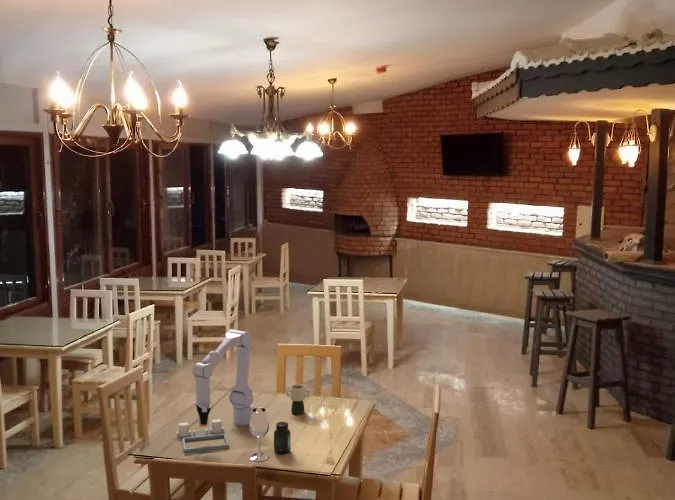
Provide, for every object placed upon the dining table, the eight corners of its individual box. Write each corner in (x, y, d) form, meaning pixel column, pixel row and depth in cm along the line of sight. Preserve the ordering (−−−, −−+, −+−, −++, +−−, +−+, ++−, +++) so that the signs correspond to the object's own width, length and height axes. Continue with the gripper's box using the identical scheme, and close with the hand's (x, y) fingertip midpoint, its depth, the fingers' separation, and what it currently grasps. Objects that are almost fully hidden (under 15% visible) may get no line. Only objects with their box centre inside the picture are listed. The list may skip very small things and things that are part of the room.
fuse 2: (220, 429, 296) (220, 419, 295) (221, 432, 293) (221, 421, 292) (211, 430, 295) (211, 419, 294) (212, 433, 292) (212, 422, 291)
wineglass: (260, 463, 266) (260, 414, 263) (245, 458, 270) (245, 410, 267) (273, 456, 272) (272, 408, 270) (257, 451, 276) (257, 405, 274)
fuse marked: (207, 423, 284) (207, 412, 284) (208, 426, 281) (208, 414, 281) (198, 424, 283) (198, 413, 283) (198, 427, 280) (198, 415, 280)
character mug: (309, 410, 323) (310, 384, 322) (308, 415, 316) (308, 389, 315) (287, 409, 324) (287, 383, 322) (285, 415, 317) (285, 388, 315)
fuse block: (223, 431, 298) (223, 424, 297) (225, 436, 292) (225, 430, 292) (175, 436, 292) (175, 429, 291) (175, 441, 286) (175, 435, 286)
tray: (225, 439, 289) (225, 433, 289) (228, 450, 277) (228, 444, 277) (182, 443, 284) (182, 438, 284) (184, 455, 272) (184, 449, 272)
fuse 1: (188, 433, 292) (188, 422, 291) (188, 436, 289) (188, 425, 288) (178, 434, 291) (178, 423, 290) (179, 437, 288) (179, 425, 287)
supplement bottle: (293, 452, 276) (293, 424, 274) (278, 456, 272) (278, 428, 270) (285, 446, 281) (285, 419, 280) (271, 450, 278) (270, 422, 276)
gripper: (192, 386, 286) (192, 417, 288) (194, 397, 272) (194, 430, 274) (208, 385, 288) (209, 415, 290) (212, 396, 274) (212, 428, 276)
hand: (203, 422), depth 282 cm, fingers closed on fuse marked, 3 cm apart
